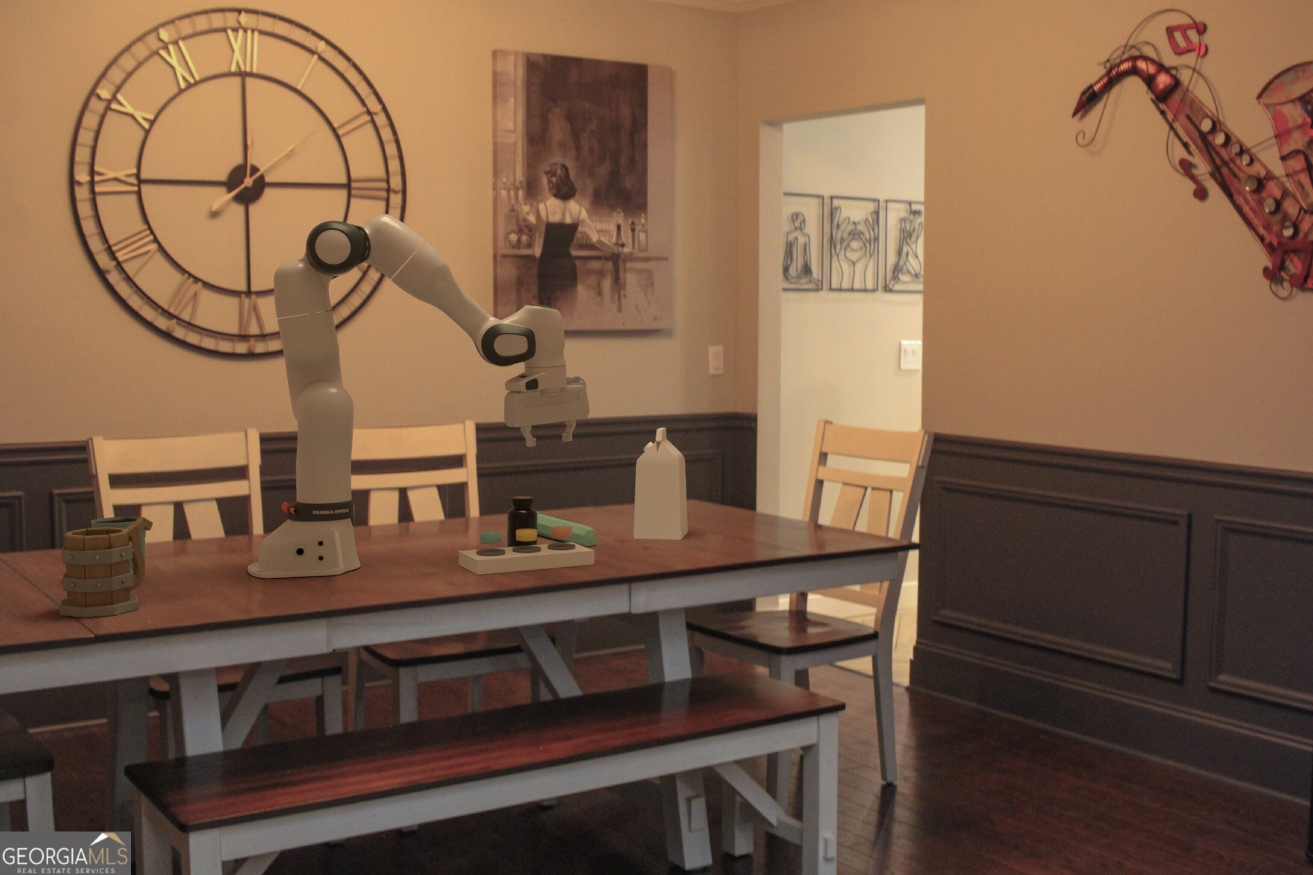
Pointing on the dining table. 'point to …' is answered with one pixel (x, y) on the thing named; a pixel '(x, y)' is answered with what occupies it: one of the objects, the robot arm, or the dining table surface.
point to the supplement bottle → (520, 520)
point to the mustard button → (526, 534)
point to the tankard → (102, 570)
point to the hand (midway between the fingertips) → (549, 443)
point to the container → (579, 532)
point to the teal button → (490, 537)
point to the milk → (660, 492)
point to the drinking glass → (121, 523)
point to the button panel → (525, 558)
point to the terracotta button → (561, 532)
